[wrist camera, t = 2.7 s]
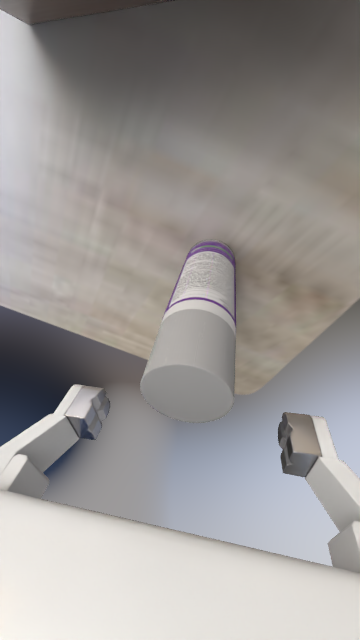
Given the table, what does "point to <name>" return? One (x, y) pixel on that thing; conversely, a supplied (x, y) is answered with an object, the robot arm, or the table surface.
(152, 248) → the table surface
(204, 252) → the container
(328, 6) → the table surface
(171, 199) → the table surface
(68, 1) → the bar
